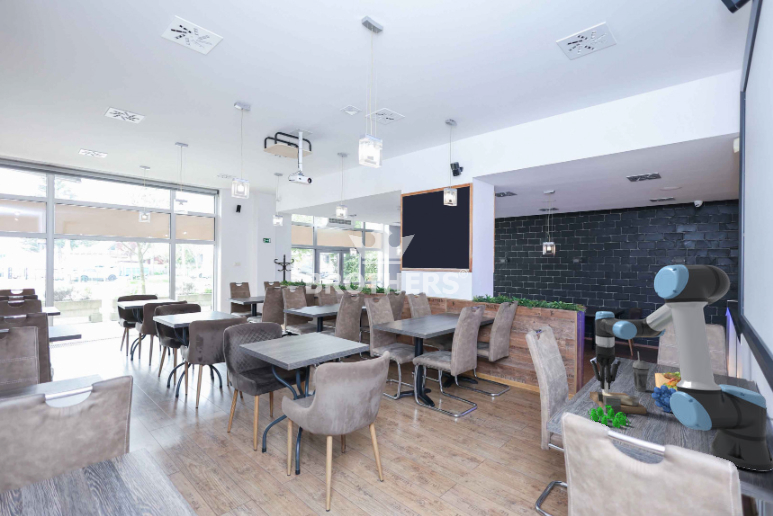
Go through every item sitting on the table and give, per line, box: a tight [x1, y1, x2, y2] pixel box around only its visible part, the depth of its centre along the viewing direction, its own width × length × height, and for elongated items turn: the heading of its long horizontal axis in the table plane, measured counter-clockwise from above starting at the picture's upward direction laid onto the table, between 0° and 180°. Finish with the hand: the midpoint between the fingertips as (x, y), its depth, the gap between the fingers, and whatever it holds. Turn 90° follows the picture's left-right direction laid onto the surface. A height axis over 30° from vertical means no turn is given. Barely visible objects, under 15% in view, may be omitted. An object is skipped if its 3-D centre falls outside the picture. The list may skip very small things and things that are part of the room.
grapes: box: [651, 385, 677, 413], centre depth 163 cm, size 12×7×12 cm, turn 58°
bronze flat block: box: [589, 391, 647, 415], centre depth 171 cm, size 19×17×7 cm
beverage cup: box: [631, 351, 650, 393], centre depth 191 cm, size 7×7×20 cm
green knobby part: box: [587, 405, 630, 429], centre depth 154 cm, size 15×15×7 cm
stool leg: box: [597, 391, 640, 406], centre depth 167 cm, size 16×4×3 cm, turn 69°
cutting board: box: [654, 371, 681, 391], centre depth 197 cm, size 35×23×8 cm
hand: (605, 395), depth 171 cm, fingers closed
